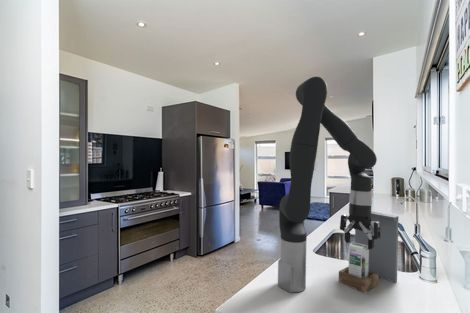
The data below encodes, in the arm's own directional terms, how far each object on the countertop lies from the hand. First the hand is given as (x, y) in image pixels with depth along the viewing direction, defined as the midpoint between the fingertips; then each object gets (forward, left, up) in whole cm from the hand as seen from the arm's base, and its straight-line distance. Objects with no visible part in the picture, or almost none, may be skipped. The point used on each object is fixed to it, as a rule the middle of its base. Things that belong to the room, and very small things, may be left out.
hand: (358, 245), depth 97 cm
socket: (0, 0, -14) cm, 14 cm away
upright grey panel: (+12, 0, -14) cm, 18 cm away
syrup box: (0, 0, -14) cm, 14 cm away
